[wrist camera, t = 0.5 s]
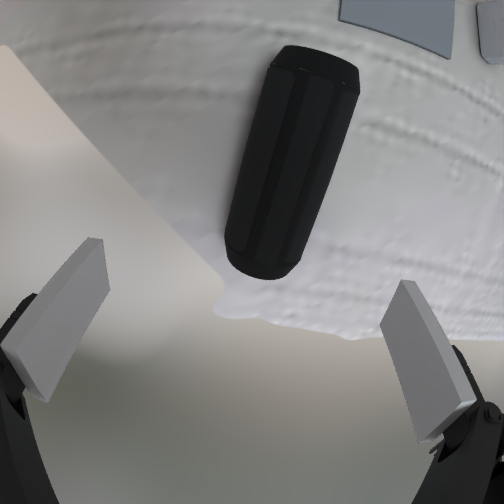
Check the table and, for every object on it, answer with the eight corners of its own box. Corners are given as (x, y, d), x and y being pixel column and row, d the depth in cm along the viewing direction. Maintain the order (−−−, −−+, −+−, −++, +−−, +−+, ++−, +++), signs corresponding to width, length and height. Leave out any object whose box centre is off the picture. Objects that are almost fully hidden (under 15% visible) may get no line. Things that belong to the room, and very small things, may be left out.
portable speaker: (292, 249, 44) (298, 292, 35) (224, 233, 43) (214, 273, 34) (351, 75, 31) (380, 72, 23) (273, 50, 30) (277, 35, 22)
